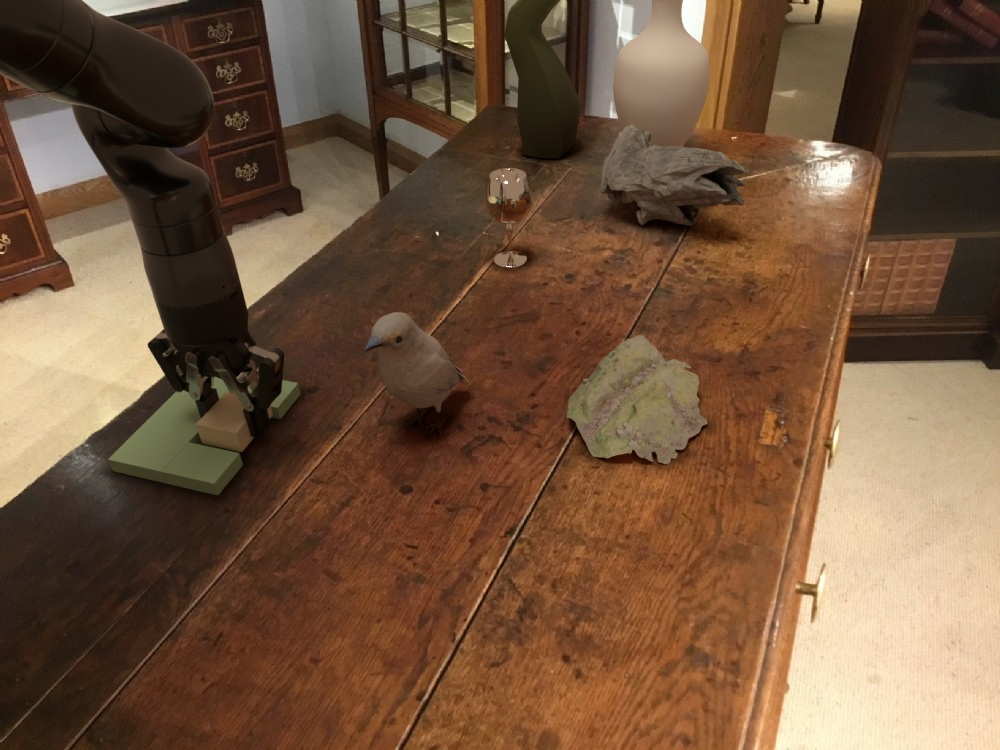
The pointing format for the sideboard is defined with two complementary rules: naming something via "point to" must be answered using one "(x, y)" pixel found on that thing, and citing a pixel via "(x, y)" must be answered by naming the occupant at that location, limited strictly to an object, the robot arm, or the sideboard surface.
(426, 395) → the bird
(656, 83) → the vase
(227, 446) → the cream pad
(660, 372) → the mossy green rock
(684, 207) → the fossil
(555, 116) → the tentacle
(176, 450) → the green c-shaped block
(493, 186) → the wineglass
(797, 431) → the sideboard surface
